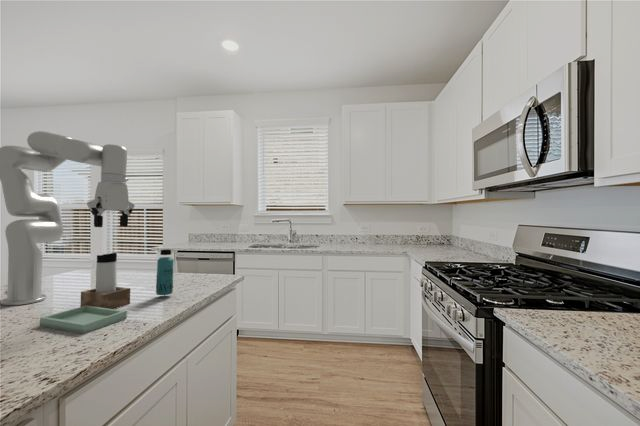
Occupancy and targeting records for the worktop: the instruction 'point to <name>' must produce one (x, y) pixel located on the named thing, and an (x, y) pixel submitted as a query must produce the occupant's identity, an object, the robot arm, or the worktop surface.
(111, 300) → the box
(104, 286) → the travel mug
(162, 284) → the beverage bottle
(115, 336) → the worktop surface
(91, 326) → the tray
